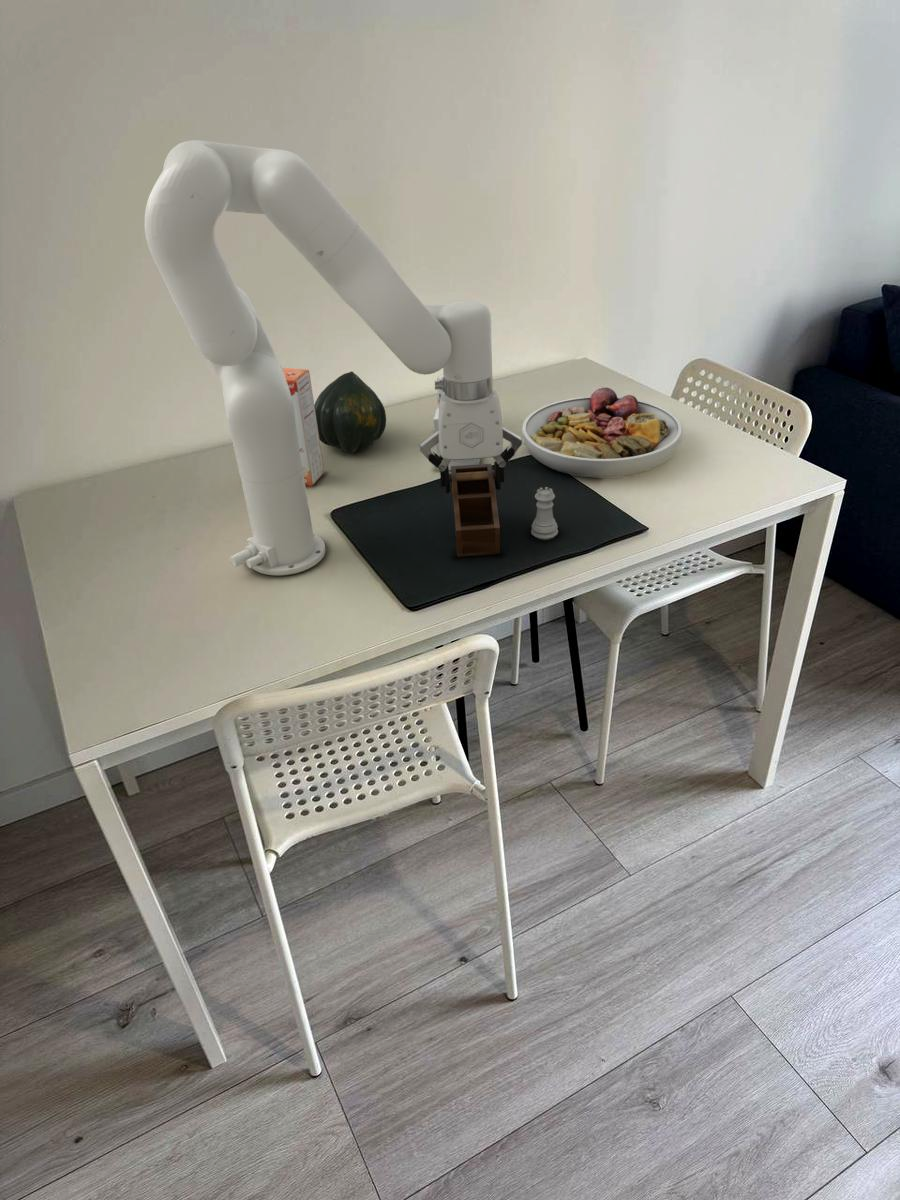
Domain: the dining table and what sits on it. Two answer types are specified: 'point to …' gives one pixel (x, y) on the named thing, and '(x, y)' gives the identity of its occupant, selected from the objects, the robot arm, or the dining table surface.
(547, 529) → the rook chess piece
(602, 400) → the bowl
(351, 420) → the squash
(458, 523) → the brown wooden shelf box
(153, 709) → the dining table surface
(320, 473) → the cracker box
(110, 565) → the dining table surface
